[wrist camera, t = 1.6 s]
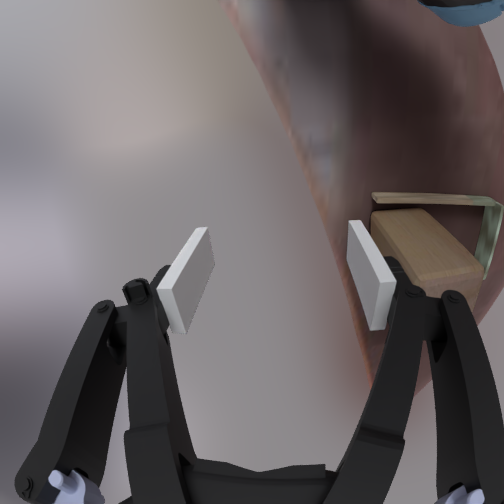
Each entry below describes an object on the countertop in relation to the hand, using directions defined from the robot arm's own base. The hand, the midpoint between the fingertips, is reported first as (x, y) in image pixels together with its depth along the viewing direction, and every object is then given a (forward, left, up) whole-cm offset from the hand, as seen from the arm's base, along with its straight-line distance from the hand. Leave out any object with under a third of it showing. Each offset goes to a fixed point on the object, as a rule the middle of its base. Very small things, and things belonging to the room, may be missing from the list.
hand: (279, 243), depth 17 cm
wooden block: (+12, +19, -26) cm, 34 cm away
